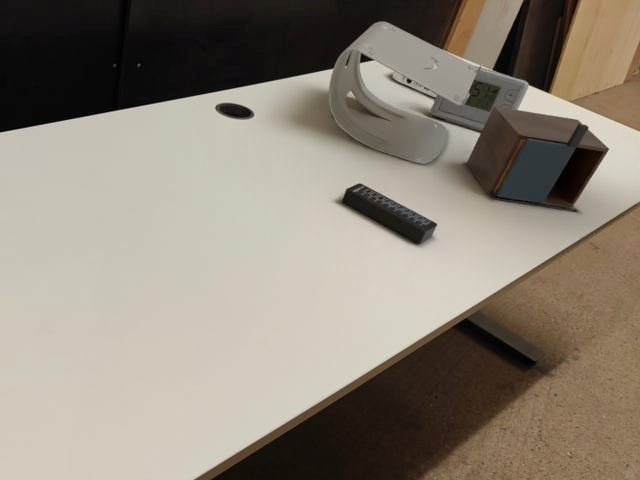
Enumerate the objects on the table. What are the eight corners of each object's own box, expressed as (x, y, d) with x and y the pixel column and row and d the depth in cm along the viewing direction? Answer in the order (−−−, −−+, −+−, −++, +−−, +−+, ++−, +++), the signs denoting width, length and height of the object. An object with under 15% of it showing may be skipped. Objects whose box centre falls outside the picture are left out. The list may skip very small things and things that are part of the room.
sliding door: (543, 203, 117) (589, 127, 108) (498, 197, 116) (540, 119, 107) (541, 201, 118) (586, 124, 108) (495, 194, 117) (537, 117, 108)
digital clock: (424, 114, 143) (446, 63, 135) (437, 105, 148) (459, 55, 141) (499, 143, 137) (525, 91, 130) (509, 131, 143) (535, 81, 136)
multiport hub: (418, 245, 101) (424, 232, 99) (340, 202, 107) (345, 189, 106) (432, 236, 103) (438, 223, 102) (355, 195, 110) (360, 182, 108)
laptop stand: (346, 93, 146) (371, 16, 135) (454, 127, 140) (489, 50, 129) (313, 130, 128) (339, 45, 117) (435, 170, 122) (474, 85, 111)
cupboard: (576, 211, 118) (614, 153, 111) (491, 199, 117) (523, 139, 109) (545, 175, 128) (577, 119, 121) (466, 163, 127) (493, 106, 119)
